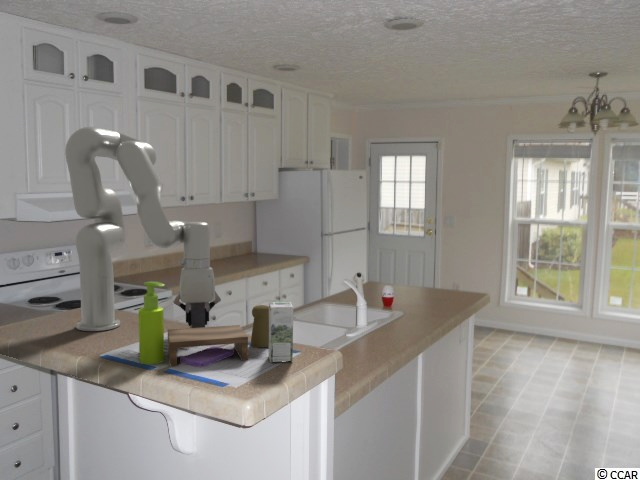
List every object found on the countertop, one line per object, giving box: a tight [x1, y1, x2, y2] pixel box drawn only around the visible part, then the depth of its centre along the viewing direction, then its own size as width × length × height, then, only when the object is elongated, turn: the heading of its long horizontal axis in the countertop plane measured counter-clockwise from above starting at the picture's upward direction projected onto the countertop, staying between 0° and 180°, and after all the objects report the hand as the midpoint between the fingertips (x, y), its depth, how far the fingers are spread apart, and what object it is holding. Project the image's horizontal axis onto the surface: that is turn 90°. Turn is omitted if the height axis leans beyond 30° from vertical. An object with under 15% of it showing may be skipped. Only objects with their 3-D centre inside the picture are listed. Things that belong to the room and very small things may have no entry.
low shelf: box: [167, 324, 249, 367], centre depth 146 cm, size 12×19×6 cm, turn 108°
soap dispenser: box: [138, 281, 166, 365], centre depth 141 cm, size 6×7×20 cm
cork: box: [250, 304, 269, 348], centre depth 156 cm, size 6×6×11 cm
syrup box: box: [268, 301, 294, 364], centre depth 144 cm, size 6×6×14 cm
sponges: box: [179, 345, 235, 368], centre depth 145 cm, size 7×13×2 cm, turn 149°
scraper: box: [185, 302, 206, 329], centre depth 164 cm, size 16×7×9 cm, turn 18°
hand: (197, 323), depth 170 cm, fingers closed on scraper, 4 cm apart
